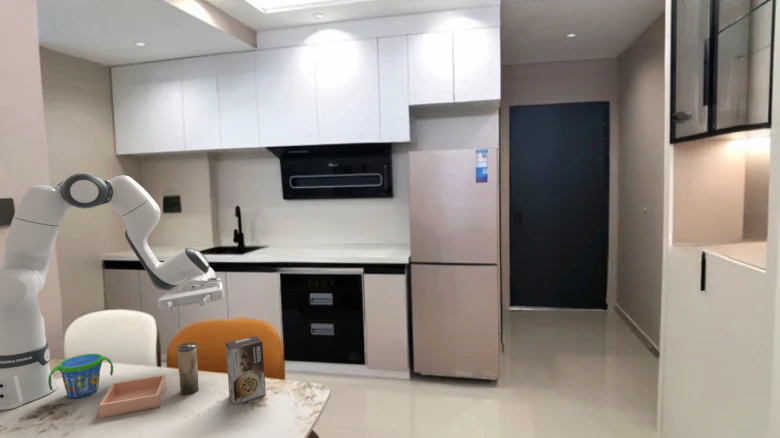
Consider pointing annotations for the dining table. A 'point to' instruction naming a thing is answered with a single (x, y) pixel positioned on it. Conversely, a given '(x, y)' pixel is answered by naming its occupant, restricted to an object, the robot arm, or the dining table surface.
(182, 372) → the bronze tin
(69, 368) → the snack cup
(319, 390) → the dining table surface
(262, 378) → the coffee box
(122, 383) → the terracotta tray
